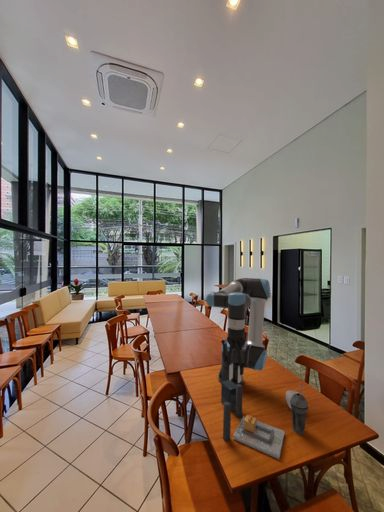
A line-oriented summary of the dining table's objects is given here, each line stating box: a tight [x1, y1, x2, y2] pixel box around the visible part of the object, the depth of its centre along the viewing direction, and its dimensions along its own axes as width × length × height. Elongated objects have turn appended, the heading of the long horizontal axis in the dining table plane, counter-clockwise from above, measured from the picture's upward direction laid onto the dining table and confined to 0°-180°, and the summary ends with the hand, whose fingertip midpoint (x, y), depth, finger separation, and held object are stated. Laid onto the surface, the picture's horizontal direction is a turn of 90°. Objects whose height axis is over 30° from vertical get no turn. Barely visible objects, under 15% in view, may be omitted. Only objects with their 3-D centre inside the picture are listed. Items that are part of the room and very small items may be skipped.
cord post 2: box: [235, 384, 244, 419], centre depth 106 cm, size 3×3×14 cm
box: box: [220, 380, 236, 411], centre depth 114 cm, size 8×6×11 cm
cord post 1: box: [222, 402, 232, 442], centre depth 92 cm, size 3×3×14 cm
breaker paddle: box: [244, 414, 257, 433], centre depth 96 cm, size 4×4×5 cm
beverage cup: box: [290, 384, 309, 435], centre depth 98 cm, size 7×7×20 cm
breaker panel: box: [232, 415, 285, 460], centre depth 93 cm, size 18×14×3 cm
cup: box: [285, 390, 300, 410], centre depth 114 cm, size 8×10×7 cm
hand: (235, 379), depth 99 cm, fingers open, 3 cm apart
